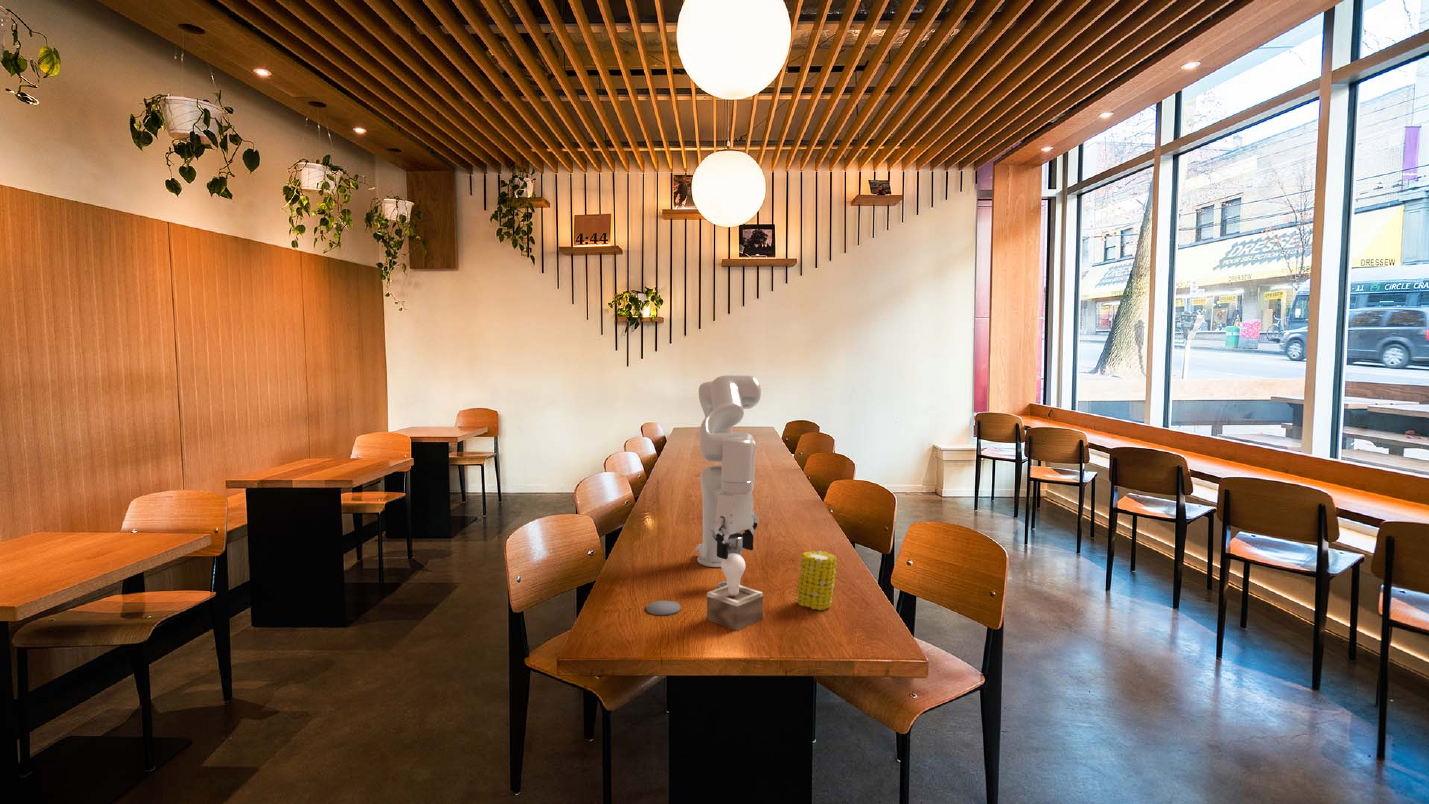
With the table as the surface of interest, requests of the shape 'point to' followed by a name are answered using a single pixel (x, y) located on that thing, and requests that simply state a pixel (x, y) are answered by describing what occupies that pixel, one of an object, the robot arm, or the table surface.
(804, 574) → the food
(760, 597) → the square holder
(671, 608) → the grey flat disc
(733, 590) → the lightbulb
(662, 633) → the table surface
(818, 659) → the table surface
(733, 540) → the wine glass
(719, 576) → the table surface
